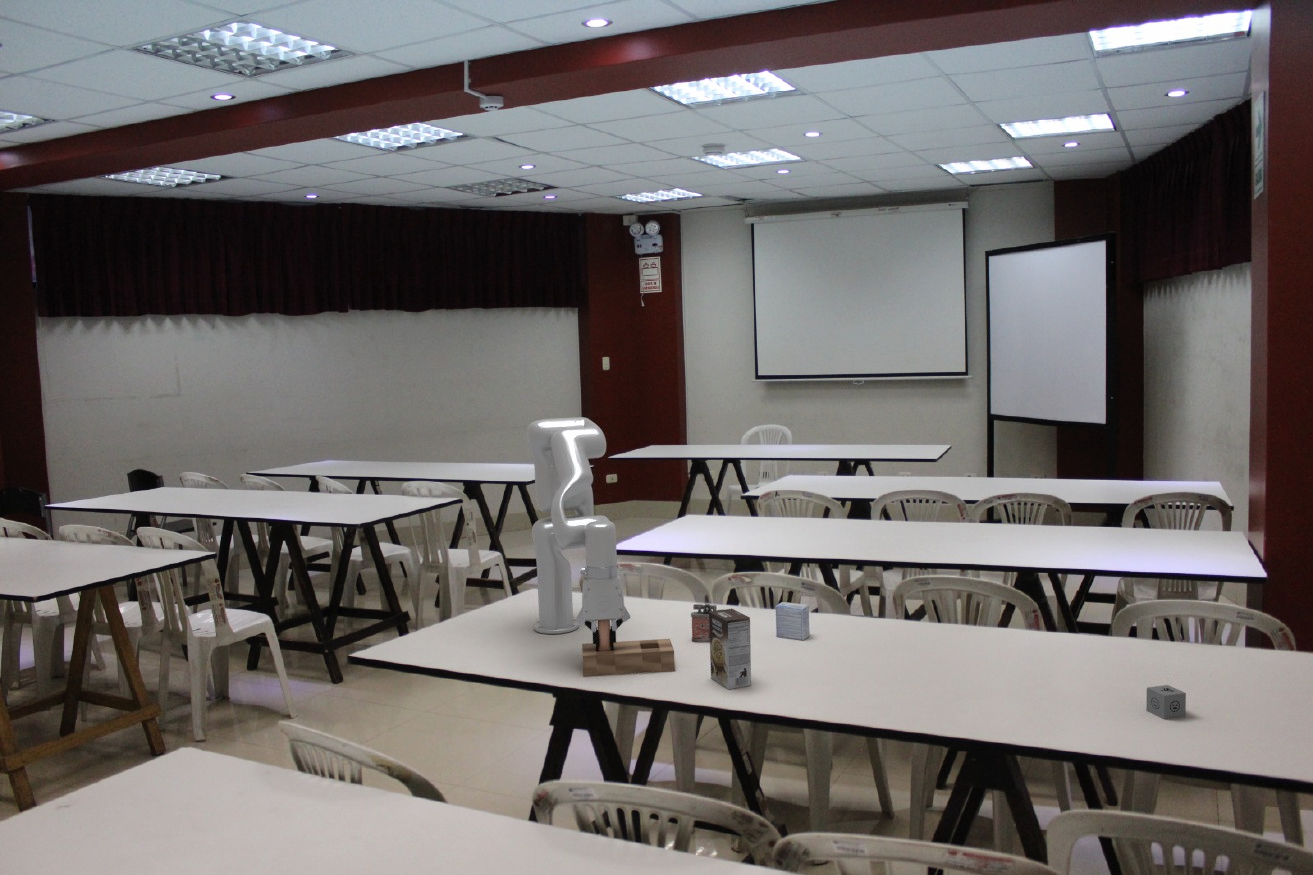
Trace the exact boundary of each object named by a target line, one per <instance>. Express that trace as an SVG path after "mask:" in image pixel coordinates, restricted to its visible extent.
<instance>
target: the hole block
mask: <svg viewBox="0 0 1313 875" xmlns="http://www.w3.org/2000/svg"><path fill="white" fill-rule="evenodd" d="M613 644H614V647H611V651H602V652H599V648H596V644H593V642H591V643H589V642H588V643H582V644H581V647H582V648H581V650H582V651H581V652H582V653H581V654H582V675H583V676H582V677H599V676H612V675H613V676H614V675H630V674H631V673H633V674H645V673H647V674H648V673H649V674H650V673H660V672H675V671H676V665H675V650H674V646H673V643H672V641H671V638H661V639H645V640H644V639H642V640H625V641H623V640H621V641H616V643H613Z"/></svg>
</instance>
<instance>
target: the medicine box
mask: <svg viewBox="0 0 1313 875" xmlns="http://www.w3.org/2000/svg"><path fill="white" fill-rule="evenodd" d="M809 606H810V605H809V604H804V603H803V604H801V603H795V602H786V601H783V602H782V601H781V602H780V603H778V604H777V605H775V628H776V629H775V631H776V632H775V633H776V634H775V635H776V637H777V638H784V639H791V640H797V641H798V640H799V641H804V640H806V639H807V638H808V637H810V635H811V634H810V632H811V631H810V609H809V608H810V607H809Z"/></svg>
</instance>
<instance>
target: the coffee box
mask: <svg viewBox="0 0 1313 875" xmlns="http://www.w3.org/2000/svg"><path fill="white" fill-rule="evenodd" d="M709 630H710V643H709V655H710V657H709V658H710V678H711V679H712V680H713V681H715V682H716V683H718V684H720V685H721V686H722V687H724V688H725V689H727V690H732V689H734V690H735V689H738V688H745V687H749V686H752V663H751V662H752V661H751V660H752V659H751V657H752V654H751V617H750V616H748V615H746V614H743V613H742V612H740V611H737V610H736V609H734V608H727V609H726V608H725V609H716V610H715V611H713V610H712V611H710V612H709Z"/></svg>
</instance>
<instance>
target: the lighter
mask: <svg viewBox="0 0 1313 875" xmlns="http://www.w3.org/2000/svg"><path fill="white" fill-rule="evenodd" d="M692 606H693V607H692V608H693V610H697V611H692V612H690V617H691V642H692V643H699V644H700V643H705V644H706V643H709V644H710V630H709V612H710V611H715V610H718V609H717V604H710V603H709V602H706V603H704V604H702V603H694V604H693V605H692Z"/></svg>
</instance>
